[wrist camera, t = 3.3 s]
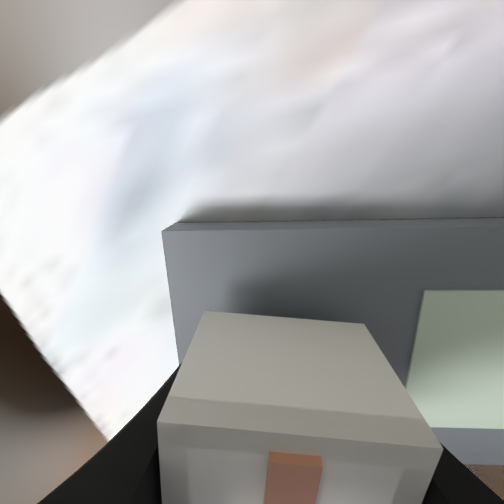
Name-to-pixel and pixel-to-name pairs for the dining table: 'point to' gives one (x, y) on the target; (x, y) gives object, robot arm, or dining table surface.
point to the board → (369, 302)
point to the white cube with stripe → (290, 418)
